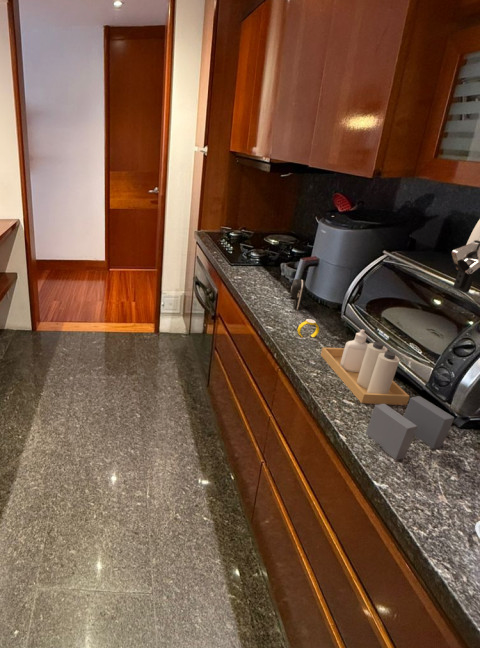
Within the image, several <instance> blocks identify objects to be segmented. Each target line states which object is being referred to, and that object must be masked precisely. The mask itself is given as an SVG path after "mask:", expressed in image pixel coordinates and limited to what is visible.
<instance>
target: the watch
mask: <svg viewBox="0 0 480 648" xmlns="http://www.w3.org/2000/svg"><path fill="white" fill-rule="evenodd" d="M307 325H310V326H315V331H314V332H313V333H312V334H310V336H311V337H312V338H316V336H318V334H319V332H320V326H319V325H318V324H317V322H316V320H314V319H311V318H306V319H305V320H304V321H303V322H301V323H300V324H299V325H298V328H297V334H298V335H299V337H301V338H303V337H304V336H303V335H302V332H301V331H302V328H304V327H305V326H307Z"/></svg>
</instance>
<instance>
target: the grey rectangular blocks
mask: <svg viewBox="0 0 480 648" xmlns="http://www.w3.org/2000/svg"><path fill="white" fill-rule="evenodd" d="M406 406H407V407H406V409H405V412H404V415H402V414H400V413H399V412H397V411H396V410H395V409H394V408H392V407H390V406H389V405H388V404H374V407H373V409H372V413H371V416H370V419H369V422H368V425H367V428H366V430H365V434H366V435H367V437H369V438H371V440H373V441H374V442H375V443H377V444H378V445H379V446H378V447H379V448H380V449H381V450H382V451H384V452H385V453H386V454H387V455H388V456H390V457H391V458H393V459H394V461H395V460H396V461H398V460H401V459H404V458H406V457H407V455H408V453H409V449H410V446H411V444H412V442H413V439H414V437H416V438H417V439H418V440H420V441H421V442H423V443H425V444H426V445H427V446H428V447H430V451H436V450H437V448H441V447H443V445H444V443H445V441H446V438H447V436H448V434H449V432H450V429H451V427H452V424H453V422H454V420H455V417H454V416H453V415H451V414H450V413H448V412H446V411H444V410H443V409H442V408H440V407H439V406H436V405H435V404H434V403H432V402H431V401H429V400H427V399H425V398H424V397H422V396H420V395H417V396H412V397H409V400H408V403H407V405H406Z"/></svg>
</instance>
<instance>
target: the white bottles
mask: <svg viewBox="0 0 480 648" xmlns="http://www.w3.org/2000/svg"><path fill="white" fill-rule="evenodd" d="M367 344H368V346H367V349H366V353H365V356H364V359H363V362H362V366H361V369H360V372H359V376H358V379H357V384H358V385H360V386H361V387H363V388H366V389H368V390H367V393H377V394H388V393H389V390H390V387H391V384H392V381H394V378H395V375H396V373H397V369H398V367H399V363H400V358H399V357H398V356H397V355H396V354H395V352H392V351H390V350H389V351H388V348H387V347H386V346H385V344H384V343H382V342H380V341H374V342H369V343H367Z"/></svg>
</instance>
